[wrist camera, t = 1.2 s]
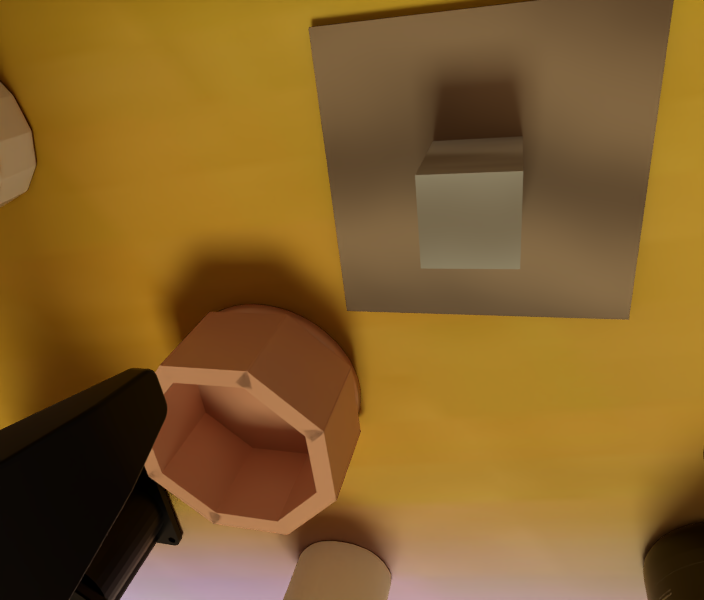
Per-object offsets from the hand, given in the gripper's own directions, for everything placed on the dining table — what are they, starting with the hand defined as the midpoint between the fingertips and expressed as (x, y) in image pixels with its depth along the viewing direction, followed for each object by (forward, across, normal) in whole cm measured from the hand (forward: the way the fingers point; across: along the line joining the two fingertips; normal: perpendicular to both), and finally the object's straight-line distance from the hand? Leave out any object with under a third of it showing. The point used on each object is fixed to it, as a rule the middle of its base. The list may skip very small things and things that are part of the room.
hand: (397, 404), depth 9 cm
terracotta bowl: (+13, +10, +10) cm, 19 cm away
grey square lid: (+14, 0, 0) cm, 14 cm away
